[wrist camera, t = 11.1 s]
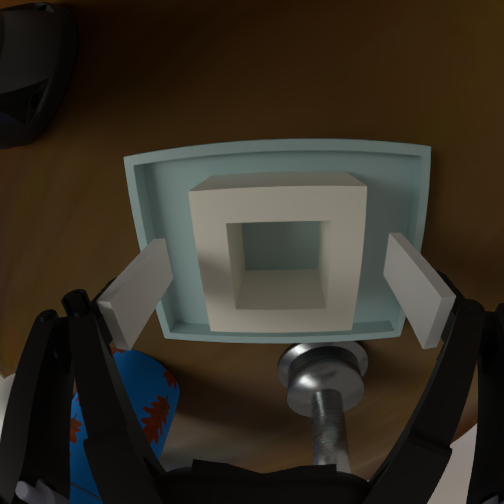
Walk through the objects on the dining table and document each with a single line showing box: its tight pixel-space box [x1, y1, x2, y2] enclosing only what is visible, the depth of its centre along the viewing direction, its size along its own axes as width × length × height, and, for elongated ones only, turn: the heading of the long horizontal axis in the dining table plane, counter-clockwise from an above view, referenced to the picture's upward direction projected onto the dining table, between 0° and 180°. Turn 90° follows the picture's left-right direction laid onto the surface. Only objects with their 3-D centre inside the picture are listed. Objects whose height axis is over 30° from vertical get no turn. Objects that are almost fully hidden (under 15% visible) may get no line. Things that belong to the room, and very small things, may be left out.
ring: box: [188, 171, 367, 333], centre depth 18 cm, size 11×9×5 cm
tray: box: [124, 138, 431, 343], centre depth 20 cm, size 15×20×2 cm
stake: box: [277, 340, 368, 474], centre depth 19 cm, size 9×9×15 cm
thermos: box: [69, 348, 180, 504], centre depth 18 cm, size 11×11×25 cm
